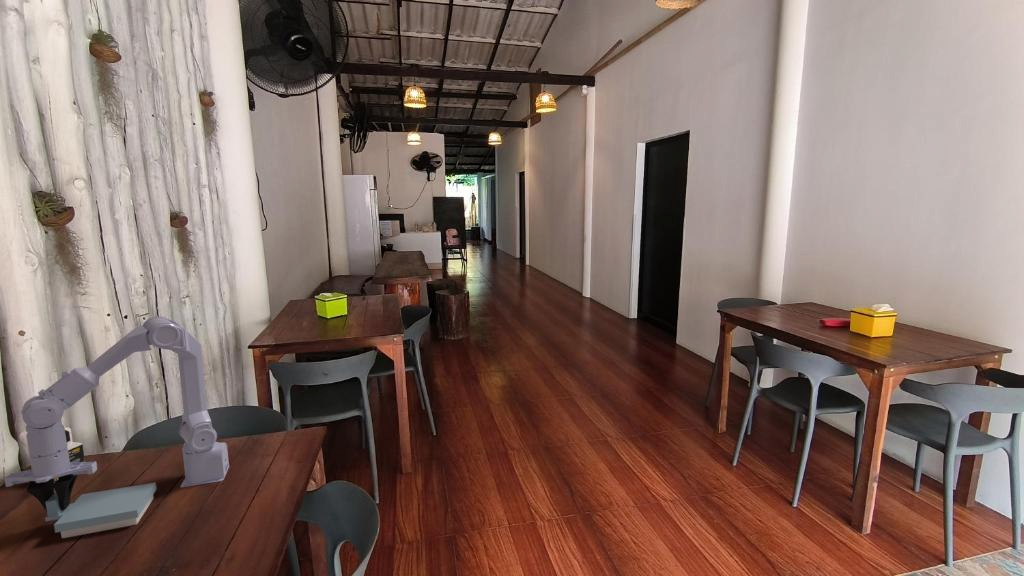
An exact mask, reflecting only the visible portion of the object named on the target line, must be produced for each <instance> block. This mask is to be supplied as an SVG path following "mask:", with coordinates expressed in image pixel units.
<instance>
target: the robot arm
mask: <svg viewBox="0 0 1024 576" xmlns="http://www.w3.org/2000/svg"><path fill="white" fill-rule="evenodd" d="M151 346H153V347H154V348H158V349H162V350H168V351H171V352H173V353H175V354H177V358H178V366H179V377H180V386H181V388H180V389H181V397H182V405H183V406H182V408H183V413H182V416H181V418H182V420H181V421H182V422H181V425H180V427H179V429H178V434H179V436H180V437H181V438H182V439H183V440H184V443H183V446H182V447H181V448H182V449H181V450H182V457H183V466H184V475H185V478H184V479H183V481H182V483H181V484H180V488H187V487H193V486H197V485H198V486H199V485H203V484H209V483H217V482H222V481H224V480H225V477H226V476H227V473H228V470H229V469H230V463H229V452H228V444H227V443H226V442H218V441H217V438H218V433H217V431H216V430H215V429H214V428H213V424H212V419H211V417H210V415H209V410H208V405H207V404H208V403H207V395H206V394H207V393H206V392H207V391H206V383H205V381H206V380H205V370H204V360H203V351H202V345H201V343H200V342H199V340H197V339H196V338H195V337H194V335H192V334H191V333H190V332H189V331H188V330H187V329H186V328H185V327H183V326H182V325H180V324H178V323H177V322H176V321H173V320H171V319H170V318H166V317H164V316H152V317H150V318H148V319H147V320H145V321H144V322H143V323H142V324H139V325H137V326H136V327H134V328H133V329H131V330H130V332H128V333H127V334H126V335H125V336H123V337H121V339H120V340H118V341H117V342H116V343H114V344H113V345H112V346H111V347H109V349H107V350H106V351H104V352H103V353H102V354H101V355H99V356H98V357H97V358H96V359H95V360H94V361H92V362H91V363H90V364H89V365H87V366H83V367H75V368H73V369H71V370H70V371H69V370H65V371H64V372H63V373H61V378H60V379H58V380H57V381H56V382H54V383H53V384H52V385H50V386H48V387H47V388H46V389H43V388H42V389H40V390H39V391H38V392H37V393H38V395H34V396H32V397H30V398H28V400H26V401H25V402H24V403H23V406H22V409H21V411H20V412H21V414H22V420H23V422H24V423H25V432H26V435H25V437H26V442H27V449H28V455H29V460H30V466H31V469H28V470H23V471H19V472H13V473H10V474H8V476H6V477H5V478H4V483H5V487H6V488H8V487H14V485H20V484H25V483H28V486H27V487H26V492H27V493H29V494H30V495H31V496H33V497H34V498H35V499H37V501H38V502H39V504H41V506H42V507H43V509H44V510H45V512H46V513H47V509H46V503H45V502H46V501H47V500H48V499H49V498H50V497H51V496H52V495H53V494H54V493H55V492H56V493H57V496H58V501H59V507H60V509H61V510H65V509H66V508H67V507H68V506H69V505H70V504H71V503H70V502H71V496H72V495H71V494H72V492H73V489H74V488H73V487H74V485H75V483H76V481H77V479H78V477H79V475H84V474H85V475H86V474H87V475H93V474H95V472H96V471H97V470H98V463H97V460H96V461H85V462H70V460H69V454H68V447H67V441H66V435H65V428H64V427H65V425H63V423H62V418H63V417H64V412H65V410H68V409H70V408H71V407H72V406H74V405H75V404H76V403H78V402H79V401H80V400H82V399H83V398H84V397H85V396H86V395H87V394H89V393H90V392H92V391H93V390H94V389H96V388H97V387H98V386H99V383H100V377H101V376H103V375H105V374H106V373H107V372H109V371H110V370H112V369H113V368H115V366H117V365H118V364H120V363H122V362H123V361H124V360H125V359H127V358H128V357H130V356H131V355H133V354H134V353H138V352H146V351H147V352H148V351H152V348H151ZM54 478H59V479H58V480H57V481H54Z"/></svg>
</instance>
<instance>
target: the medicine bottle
mask: <svg viewBox="0 0 1024 576" xmlns="http://www.w3.org/2000/svg"><path fill="white" fill-rule="evenodd" d="M64 428H65V435H66V441H67V447H68V454H69V460H70V462H86V458H85V452H84V446H83V443H82V442H76V441H73V435H72V429H71V428H70V427H67V426H64ZM58 479H59V478H54V482H56V481H57V480H58Z"/></svg>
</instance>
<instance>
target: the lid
mask: <svg viewBox="0 0 1024 576" xmlns="http://www.w3.org/2000/svg"><path fill="white" fill-rule="evenodd" d="M156 491H157V483H156V482H150V483H143V484H138V485H133V486H126V487H125V486H124V487H120V488H119V487H118V488H111V489H106V490H101V491H94V492H89V493H88V492H87V493H82V494H81V495H80V496H79V497H77V499H76V500H75V501H74V502H73V503H72V502H71V503H70V505H69V506H68V507H67V508H66V509H65V510H61V509H60V507H59V501H58V496H57V493H56V491H54V494H53V495H52V496H51V497H50V498H49V499H48V500H47V501H46V502H45V503H46V509H47V512H46V514H47V516H45V517H44V519H45V520H44V521H45V522H50V521H56V520H57V521H56V522H55V523H54V524H53V529H54V533H61V532H62V531H67V530H73V529H78V528H83V527H89V526H94V525H100V524H105V523H111V522H116V521H122V520H127V519H132V518H138V517H139V515H140V514H141V512H142V511H143V509H144V508H145V506H146V505H147V503H148V502H149V500H150V498H151V497H152V495H153V496H154V494H155V492H156Z"/></svg>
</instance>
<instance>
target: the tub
mask: <svg viewBox="0 0 1024 576" xmlns="http://www.w3.org/2000/svg"><path fill="white" fill-rule="evenodd" d="M153 500H154V494H153V495H152V497H151V498H150V500H149V502H148V503H147V505H146V506H145V508H144V509H143V511H142V512H141V514H140V515H139V517H138V518H132V519H127V520H122V521H116V522H111V523H105V524H100V525H94V526H89V527H83V528H78V529H73V530H67V531H62V532H60V535H61V539H67V538H72V537H78V536H82V535H87V534H92V533H99V532H103V531H108V530H115V529H120V528H125V527H130V526H135V525H138V523H139V522H140V521H141V518H142V517H143V516H144V514H145V513H146V511H147V509H148V508H149V507H150V505H151V503H152V501H153Z"/></svg>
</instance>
